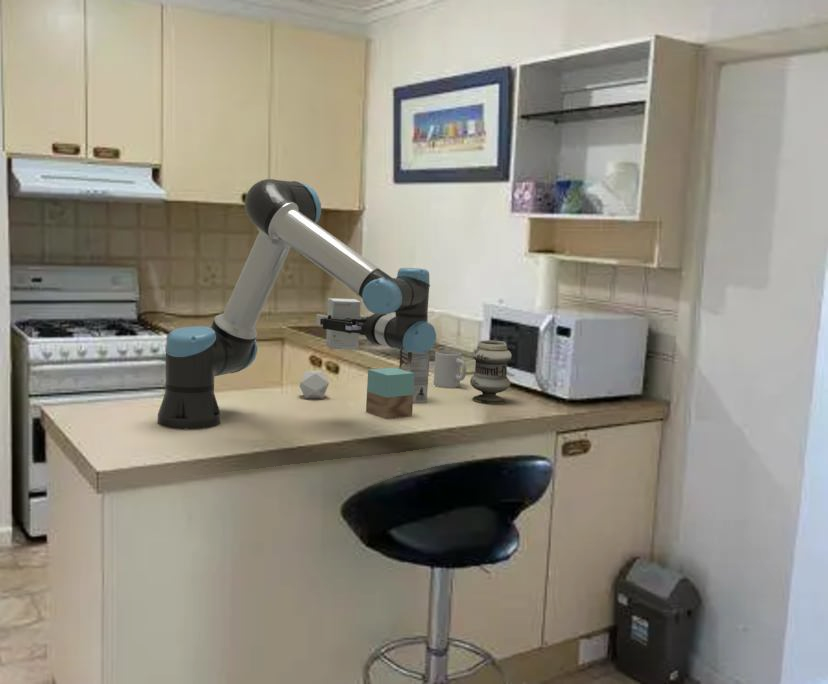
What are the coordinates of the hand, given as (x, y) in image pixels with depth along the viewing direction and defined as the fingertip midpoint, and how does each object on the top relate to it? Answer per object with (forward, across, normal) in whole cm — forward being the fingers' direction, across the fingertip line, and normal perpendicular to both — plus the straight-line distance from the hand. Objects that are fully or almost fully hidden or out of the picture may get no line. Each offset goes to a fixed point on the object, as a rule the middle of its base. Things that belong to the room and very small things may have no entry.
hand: (333, 318), depth 230 cm
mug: (+19, +60, -26) cm, 68 cm away
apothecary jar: (-3, +56, -26) cm, 62 cm away
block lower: (-4, +17, -26) cm, 32 cm away
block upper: (-4, +17, -20) cm, 27 cm away
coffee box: (+8, +35, -26) cm, 44 cm away
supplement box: (-4, 0, -7) cm, 8 cm away
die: (+23, +10, -26) cm, 36 cm away
